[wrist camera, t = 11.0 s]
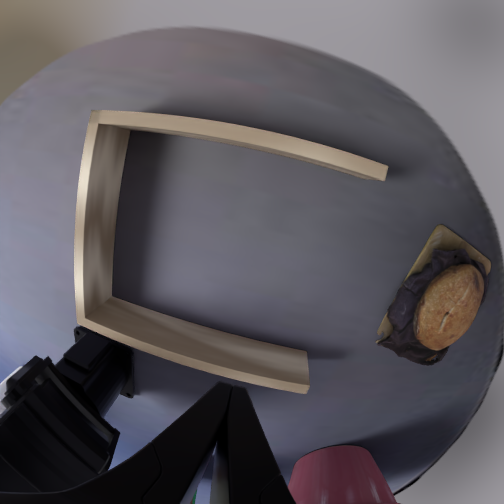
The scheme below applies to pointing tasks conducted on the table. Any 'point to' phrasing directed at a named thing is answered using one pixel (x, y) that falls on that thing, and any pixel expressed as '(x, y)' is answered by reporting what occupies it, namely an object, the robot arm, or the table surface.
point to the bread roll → (436, 299)
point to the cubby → (103, 235)
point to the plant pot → (339, 478)
